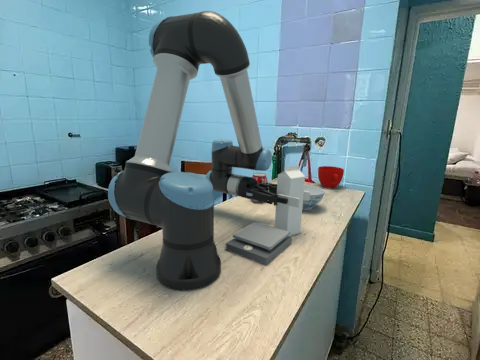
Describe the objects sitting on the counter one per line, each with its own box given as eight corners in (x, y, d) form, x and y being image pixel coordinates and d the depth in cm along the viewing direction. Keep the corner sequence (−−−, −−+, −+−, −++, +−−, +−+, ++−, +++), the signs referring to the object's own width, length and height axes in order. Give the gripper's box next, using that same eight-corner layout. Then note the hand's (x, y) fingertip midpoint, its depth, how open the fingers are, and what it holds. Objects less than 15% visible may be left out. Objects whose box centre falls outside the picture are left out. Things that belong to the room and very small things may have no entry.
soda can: (266, 198, 120) (267, 172, 117) (266, 204, 114) (267, 176, 111) (250, 198, 121) (251, 172, 118) (249, 203, 114) (250, 175, 111)
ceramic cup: (321, 191, 133) (323, 172, 131) (314, 183, 150) (315, 165, 147) (348, 192, 133) (350, 173, 131) (337, 184, 149) (339, 166, 147)
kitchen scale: (266, 265, 68) (266, 251, 67) (225, 249, 75) (226, 237, 74) (291, 243, 80) (292, 231, 79) (254, 231, 87) (255, 220, 86)
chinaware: (284, 211, 105) (285, 192, 103) (286, 200, 119) (288, 183, 118) (323, 215, 102) (325, 196, 100) (321, 203, 116) (323, 186, 114)
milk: (300, 233, 86) (306, 166, 81) (286, 237, 83) (292, 168, 78) (287, 226, 91) (292, 162, 86) (273, 230, 88) (278, 164, 83)
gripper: (257, 190, 103) (315, 202, 91) (224, 203, 87) (288, 221, 74) (258, 171, 102) (317, 181, 89) (225, 181, 85) (290, 195, 73)
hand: (304, 199), depth 82 cm, fingers closed on milk, 8 cm apart
